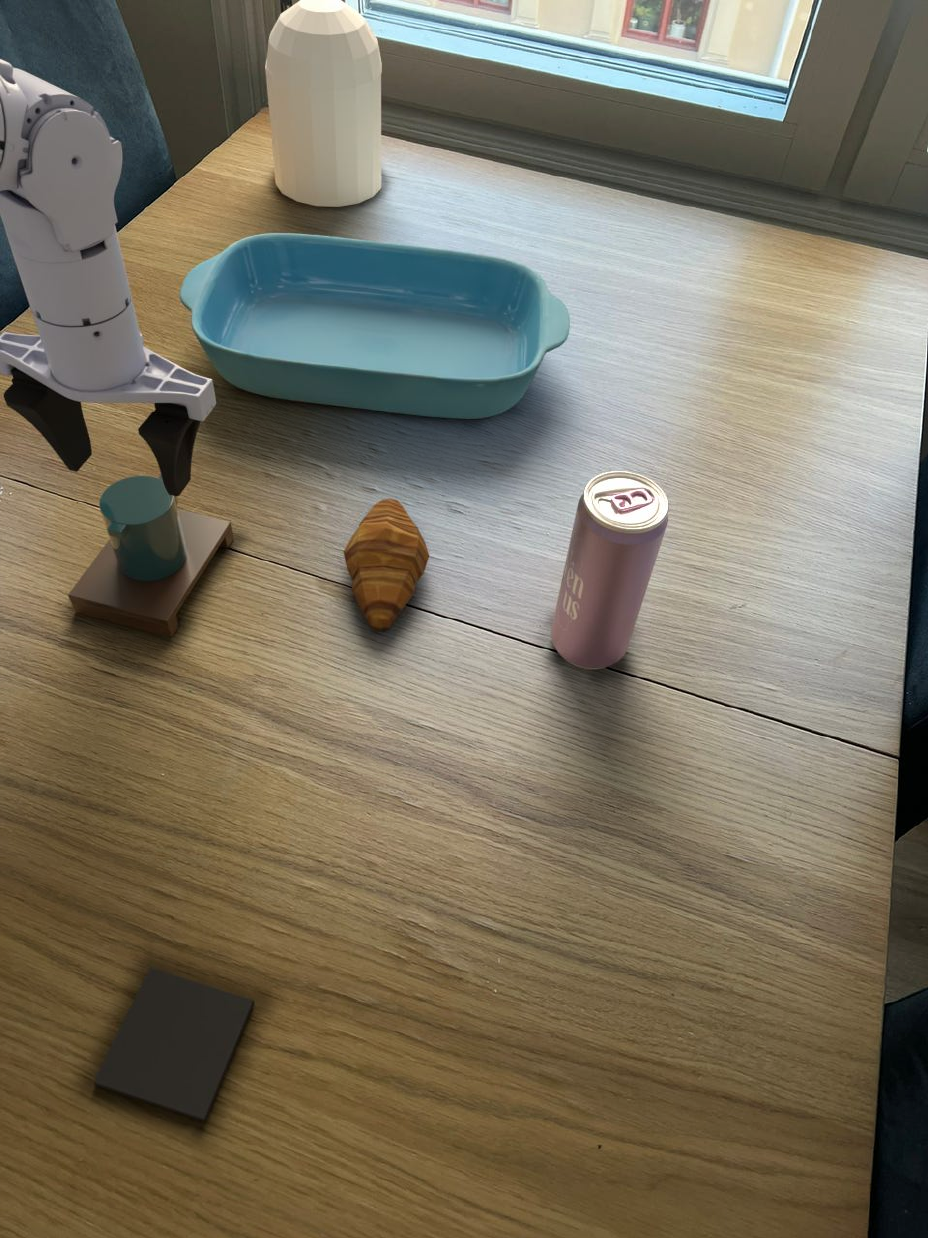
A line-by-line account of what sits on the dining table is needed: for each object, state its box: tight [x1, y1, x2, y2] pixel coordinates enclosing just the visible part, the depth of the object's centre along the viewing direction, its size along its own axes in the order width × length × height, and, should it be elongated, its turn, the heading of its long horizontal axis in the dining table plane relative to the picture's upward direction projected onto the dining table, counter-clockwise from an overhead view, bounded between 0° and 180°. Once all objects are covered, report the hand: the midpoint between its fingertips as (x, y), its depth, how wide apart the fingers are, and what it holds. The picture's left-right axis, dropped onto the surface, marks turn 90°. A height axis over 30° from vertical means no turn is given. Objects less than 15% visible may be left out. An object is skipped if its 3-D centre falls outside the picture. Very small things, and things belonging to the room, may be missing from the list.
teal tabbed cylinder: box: [98, 474, 187, 581], centre depth 70 cm, size 5×8×6 cm
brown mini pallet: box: [67, 507, 234, 638], centre depth 73 cm, size 8×11×2 cm
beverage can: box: [550, 470, 670, 670], centre depth 66 cm, size 6×6×15 cm
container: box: [264, 0, 383, 208], centre depth 110 cm, size 13×13×20 cm
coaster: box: [92, 967, 255, 1122], centre depth 51 cm, size 6×6×1 cm
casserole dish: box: [179, 232, 571, 420], centre depth 91 cm, size 37×22×7 cm, turn 86°
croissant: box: [343, 498, 430, 632], centre depth 73 cm, size 14×7×5 cm, turn 0°
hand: (129, 474), depth 66 cm, fingers open, 7 cm apart
